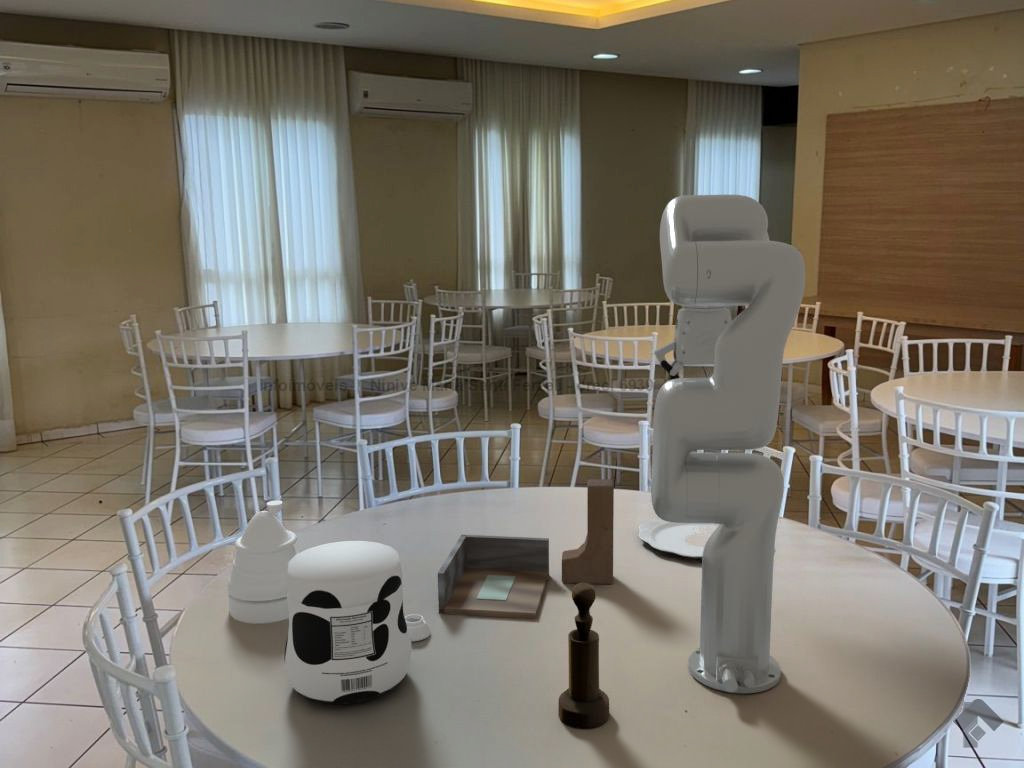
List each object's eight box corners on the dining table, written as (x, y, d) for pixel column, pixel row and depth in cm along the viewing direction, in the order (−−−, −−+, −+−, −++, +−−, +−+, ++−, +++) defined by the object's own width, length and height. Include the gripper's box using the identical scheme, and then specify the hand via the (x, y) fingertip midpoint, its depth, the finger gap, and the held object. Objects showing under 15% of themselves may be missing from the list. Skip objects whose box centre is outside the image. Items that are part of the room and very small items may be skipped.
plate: (794, 554, 168) (795, 544, 168) (682, 575, 159) (682, 565, 159) (718, 514, 191) (718, 506, 191) (615, 531, 182) (615, 522, 182)
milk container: (350, 641, 135) (344, 530, 132) (437, 673, 125) (433, 553, 122) (260, 691, 121) (250, 567, 118) (349, 730, 111) (342, 597, 108)
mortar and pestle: (578, 696, 119) (578, 570, 115) (619, 712, 115) (620, 582, 111) (548, 718, 114) (547, 586, 110) (590, 735, 110) (590, 599, 106)
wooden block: (561, 583, 155) (561, 485, 152) (562, 573, 160) (562, 478, 157) (613, 585, 155) (613, 486, 151) (612, 575, 159) (613, 478, 156)
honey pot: (309, 587, 156) (303, 489, 152) (308, 618, 143) (301, 512, 140) (233, 594, 153) (225, 495, 150) (225, 627, 141) (217, 519, 137)
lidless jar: (433, 640, 136) (426, 626, 140) (432, 622, 135) (425, 609, 140) (401, 645, 134) (395, 631, 139) (400, 627, 133) (394, 614, 138)
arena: (535, 618, 142) (535, 577, 141) (438, 613, 145) (437, 573, 143) (549, 575, 159) (548, 538, 158) (462, 570, 162) (461, 534, 161)
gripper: (659, 304, 154) (658, 400, 157) (758, 302, 154) (754, 398, 157) (651, 300, 161) (650, 392, 164) (745, 299, 162) (742, 391, 165)
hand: (701, 395), depth 161 cm, fingers open, 9 cm apart
